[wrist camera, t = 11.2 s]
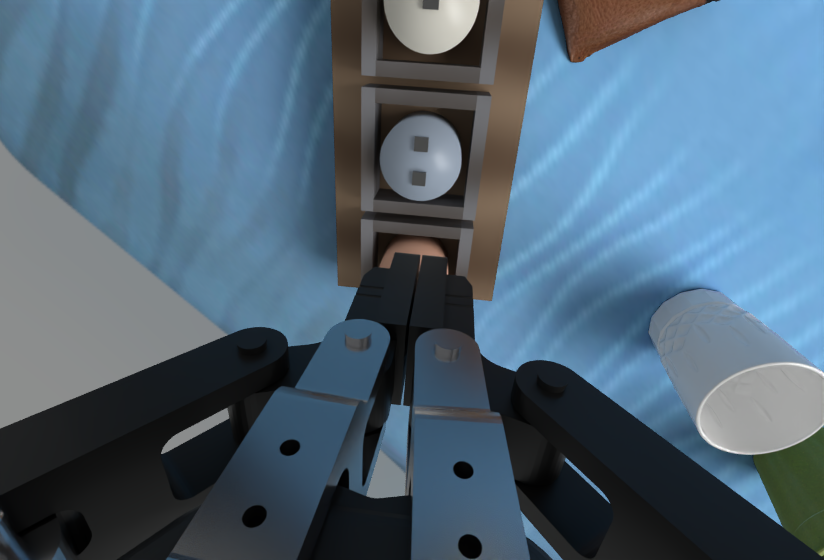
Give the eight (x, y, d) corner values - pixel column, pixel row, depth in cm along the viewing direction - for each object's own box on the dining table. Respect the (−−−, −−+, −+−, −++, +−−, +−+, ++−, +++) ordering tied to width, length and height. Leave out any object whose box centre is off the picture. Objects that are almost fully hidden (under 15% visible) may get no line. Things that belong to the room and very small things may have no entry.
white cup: (626, 351, 38) (675, 443, 30) (663, 273, 34) (733, 352, 26) (715, 367, 38) (792, 464, 29) (763, 290, 34) (867, 375, 26)
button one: (393, -51, 23) (384, -64, 21) (483, -46, 23) (486, -59, 20) (390, 50, 26) (381, 51, 23) (471, 55, 25) (473, 57, 23)
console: (341, -71, 26) (315, -97, 21) (546, -60, 25) (566, -84, 20) (346, 275, 37) (330, 310, 32) (488, 289, 37) (492, 327, 32)
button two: (388, 108, 27) (380, 115, 24) (465, 113, 27) (466, 122, 24) (386, 183, 30) (378, 198, 27) (456, 189, 29) (456, 205, 26)
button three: (384, 227, 31) (377, 246, 28) (452, 233, 31) (451, 253, 28) (382, 286, 33) (375, 308, 31) (445, 292, 33) (444, 315, 30)
